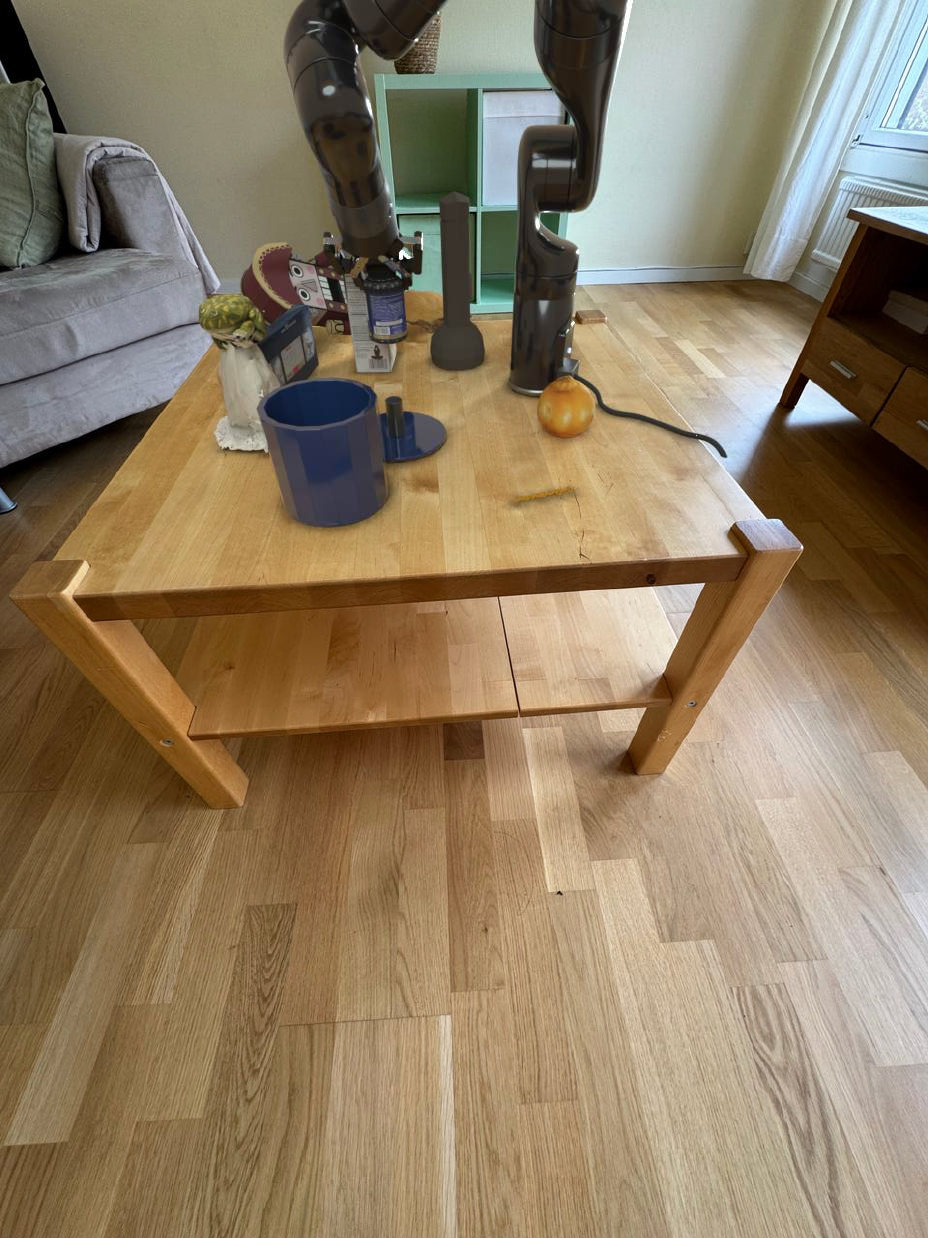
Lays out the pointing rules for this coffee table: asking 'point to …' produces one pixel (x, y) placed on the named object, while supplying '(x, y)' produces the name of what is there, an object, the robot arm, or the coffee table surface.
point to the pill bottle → (384, 305)
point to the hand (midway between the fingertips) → (384, 284)
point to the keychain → (544, 494)
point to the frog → (239, 368)
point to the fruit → (565, 407)
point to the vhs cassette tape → (291, 346)
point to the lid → (408, 432)
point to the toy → (296, 287)
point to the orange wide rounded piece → (424, 309)
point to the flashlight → (456, 291)
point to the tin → (326, 450)
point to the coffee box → (365, 333)
